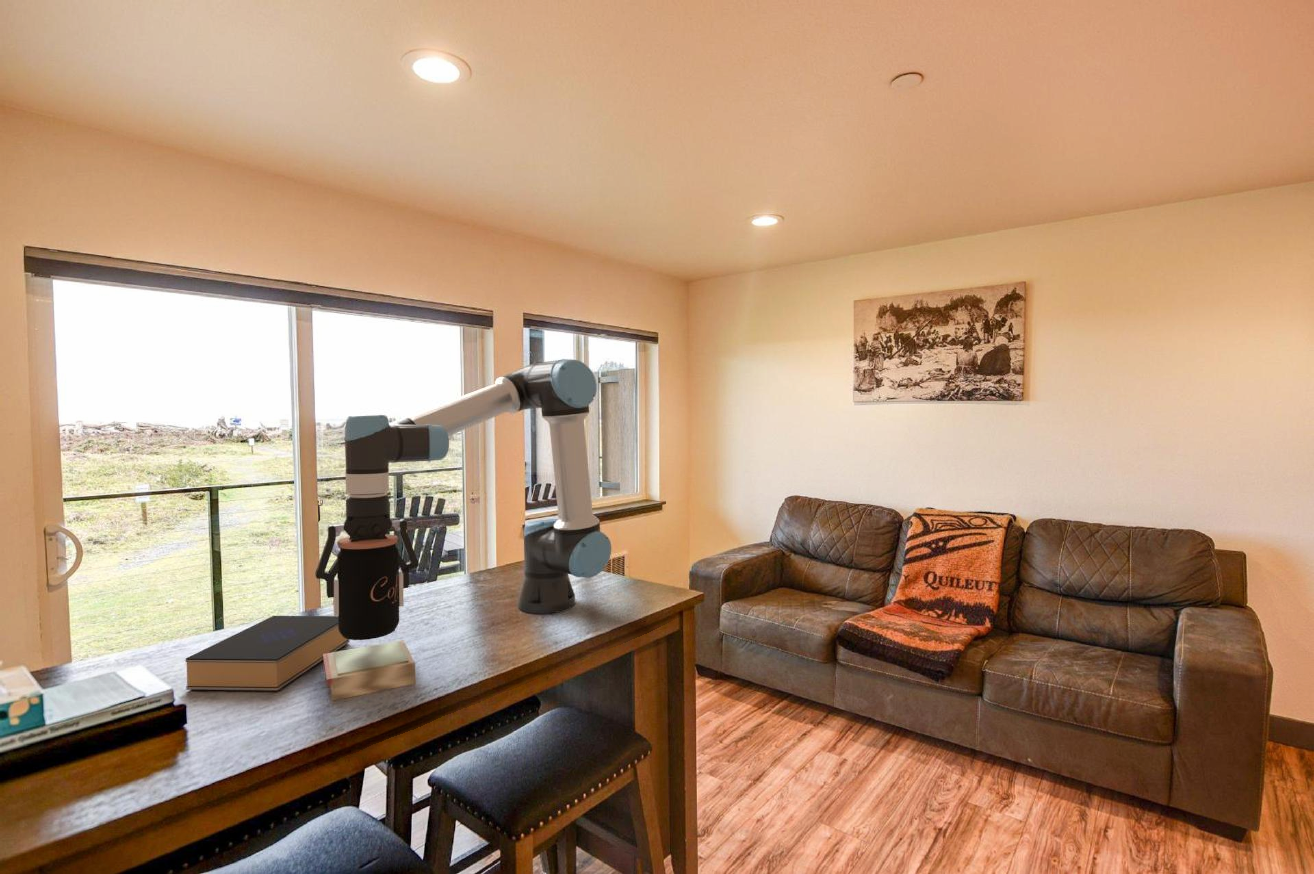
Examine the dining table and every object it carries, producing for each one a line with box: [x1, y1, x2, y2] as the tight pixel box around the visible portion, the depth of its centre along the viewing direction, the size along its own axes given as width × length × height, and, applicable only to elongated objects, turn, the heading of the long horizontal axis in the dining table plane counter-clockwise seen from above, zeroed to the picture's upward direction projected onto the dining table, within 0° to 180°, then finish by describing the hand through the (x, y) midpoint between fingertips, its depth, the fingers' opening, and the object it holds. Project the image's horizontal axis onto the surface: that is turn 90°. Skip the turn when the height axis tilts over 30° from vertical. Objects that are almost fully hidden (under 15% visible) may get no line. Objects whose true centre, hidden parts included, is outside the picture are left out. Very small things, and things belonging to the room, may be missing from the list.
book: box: [184, 615, 350, 692], centre depth 127 cm, size 17×25×7 cm
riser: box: [322, 639, 416, 702], centre depth 120 cm, size 15×14×4 cm
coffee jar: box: [336, 533, 400, 641], centre depth 120 cm, size 11×11×18 cm
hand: (369, 609), depth 120 cm, fingers closed on coffee jar, 11 cm apart
